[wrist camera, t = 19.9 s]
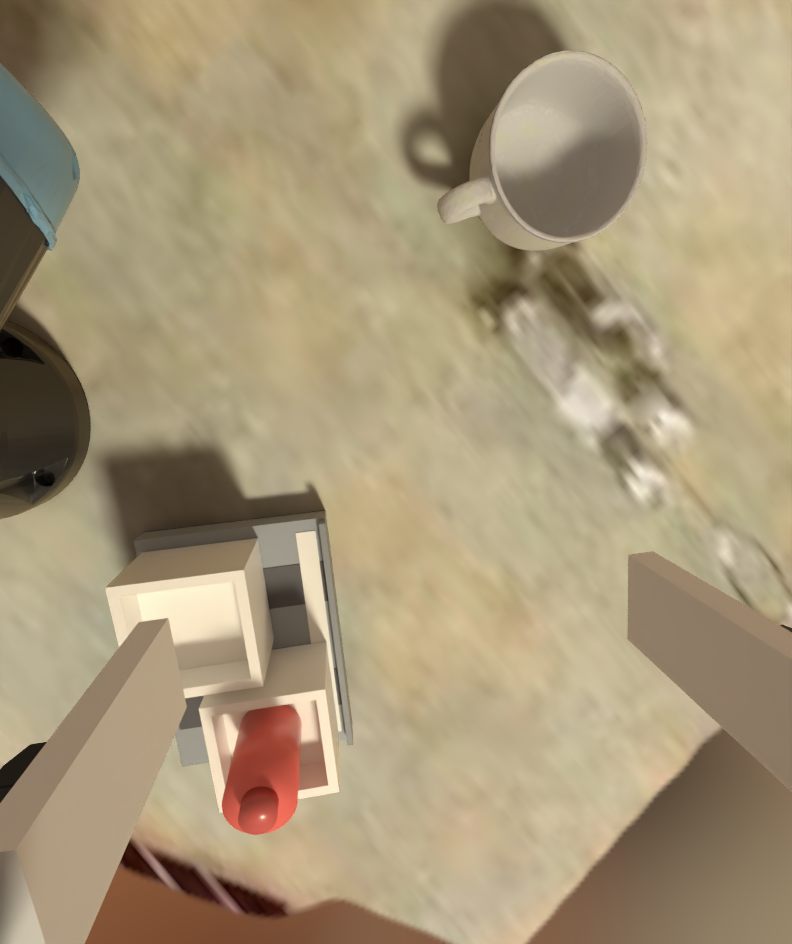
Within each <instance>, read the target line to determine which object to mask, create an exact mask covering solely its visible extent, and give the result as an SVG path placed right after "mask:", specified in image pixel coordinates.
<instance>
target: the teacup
mask: <svg viewBox="0 0 792 944" xmlns="http://www.w3.org/2000/svg"><path fill="white" fill-rule="evenodd" d="M646 150H647V134H646V120H645V117H644V115H643V111H642V107H641V105H640V102H639V99H638V97H637V94H636V93H635V91H634V90H633V88H632V86H631V84H630V83H629V81H628V79H627V78H626V77H625V76H624V75H623V74H622V73H621V72H620V71H619V70H618V69H617V68H616V67H615V66H613V65H612V64H611V63H609V62H607V61H606V60H604V59H603V58H601V57H598V56H596V55H594V54H591V53H588V52H583V51H573V50H566V51H559V52H555V53H551V54H548V55H544V56H542V57H541V58H539V59H537V60H535V61H534V62H533V63H532V64H530V65H528V66H527V67H525V68H524V69H523V70H522V71H521V72H520V73H519V74H518V75H517V76H516V77H515V78H514V79H513V80H512V81H511V82H510V84H509V85H508V87H507V89H506V91H505V92H504V93H503V95H502V97H501V99H500V101H499V103H498V104H497V105H496V107H495V108H494V110H493V111H492V112H491V114H490V116H489V117H488V119H487V120H486V122H485V124H484V125H483V127H482V129H481V131H480V133H479V135H478V138H477V140H476V142H475V146H474V149H473V152H472V156H471V162H470V170H469V179H470V181H468V182H466V183H463V184H461V185H459V186H457V187H455V188H454V189H452V190H450V191H449V192H447V193H446V194H445V195H443V196H442V197H441V198H440V199H439V201H438V204H437V207H438V212H439V215H440V217H441V219H442V220H443V222H444V223H446V224H451V223H455V222H459V221H461V220H464V219H467V218H469V217H474V216H479V217H480V219H481V221H482V222H483V223H484V225H485V226H486V228H487V229H488V230H489V231H490V232H491V233H492V234H493V235H494V236H495V237H496V238H497V239H499V240H500V241H502V242H504V243H505V244H507V245H509V246H512V247H515V248H518V249H523V250H529V251H538V250H547V249H552V248H556V247H559V246H563V245H566V244H569V243H572V242H578V241H581V240H585V239H588V238H591V237H593V236H595V235H597V234H599V233H600V232H602V231H604V230H605V229H606V228H608V227H609V226H610V225H611V224H613V223H614V222H615V221H616V220H617V219H618V218H619V217H620V216H621V214H622V213H623V212H624V211H625V210H626V208H627V207H628V205H629V204H630V202H631V201H632V199H633V197H634V195H635V193H636V191H637V189H638V187H639V184H640V182H641V179H642V175H643V171H644V166H645V160H646Z"/></svg>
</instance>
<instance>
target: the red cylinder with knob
mask: <svg viewBox="0 0 792 944" xmlns="http://www.w3.org/2000/svg"><path fill="white" fill-rule="evenodd" d="M301 736H302V722H301V719H300V716H299V715H298V713H297V712H296V711H295V710H294V709H293V708H292V707H290V706H288V705H280V706H274V707H268V708H261V709H255V710H249V711H248V712H247V713H246V714H245V716H244V717H243V719H242V721H241V724H240V728H239V732H238V736H237V740H236V745H235V749H234V753H233V757H232V761H231V765H230V770H229V774H228V778H227V782H226V786H225V790H224V795H223V799H222V811H223V814H224V816H225V818H226V820H227V821H228V822H229V823H230V825H232V826H233V827H234V828H236V829H238V830H240V831H242V832H245V833H249V834H254V835H258V834H263V833H268V832H271V831H274V830H276V829H278V828H280V827H281V826H283V825H284V824H285V823H287V822H288V821H289V819H290V818H291V817H292V816H293V814H294V812H295V810H296V807H297V800H298V784H299V768H300V752H301Z"/></svg>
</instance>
